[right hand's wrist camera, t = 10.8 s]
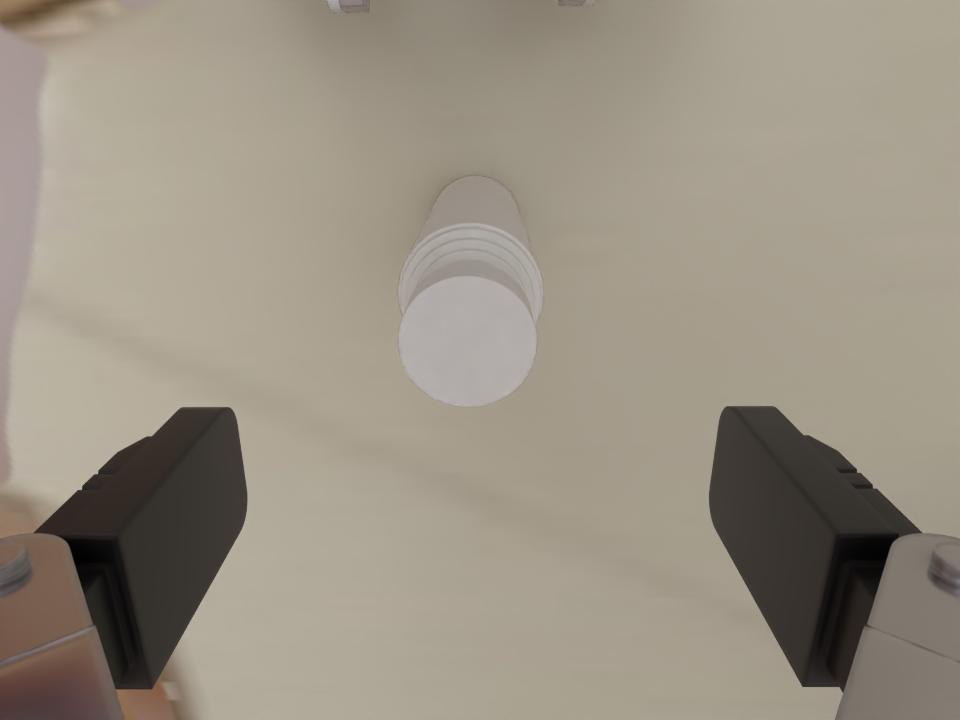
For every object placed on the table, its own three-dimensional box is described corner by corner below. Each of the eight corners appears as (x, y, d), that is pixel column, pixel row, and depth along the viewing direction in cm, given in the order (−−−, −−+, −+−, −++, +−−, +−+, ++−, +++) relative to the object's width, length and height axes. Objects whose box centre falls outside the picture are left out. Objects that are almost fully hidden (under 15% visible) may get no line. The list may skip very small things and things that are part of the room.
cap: (434, 399, 20) (429, 425, 19) (384, 288, 19) (374, 305, 17) (549, 357, 20) (556, 381, 18) (506, 241, 19) (508, 254, 17)
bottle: (451, 276, 38) (420, 442, 19) (418, 195, 36) (348, 289, 18) (532, 246, 37) (581, 387, 19) (501, 161, 36) (521, 222, 17)
